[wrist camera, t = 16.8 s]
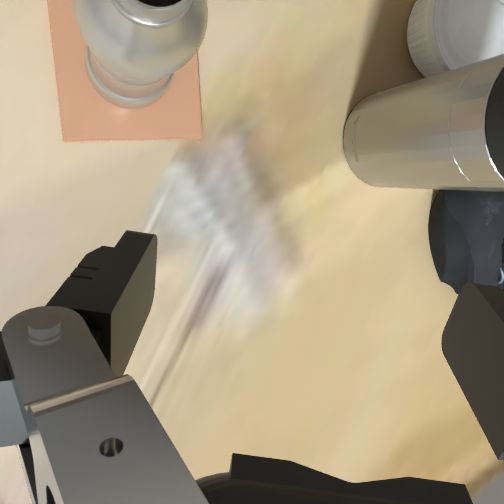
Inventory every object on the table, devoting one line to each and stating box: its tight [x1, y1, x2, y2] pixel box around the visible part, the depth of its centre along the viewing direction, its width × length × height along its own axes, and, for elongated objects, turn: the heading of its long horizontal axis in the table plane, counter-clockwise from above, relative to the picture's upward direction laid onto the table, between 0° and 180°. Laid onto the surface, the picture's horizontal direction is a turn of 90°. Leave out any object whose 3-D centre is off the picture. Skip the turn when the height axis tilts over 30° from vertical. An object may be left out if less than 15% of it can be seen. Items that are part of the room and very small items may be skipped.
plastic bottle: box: [73, 0, 208, 109], centre depth 26 cm, size 6×7×20 cm
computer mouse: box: [428, 189, 504, 294], centre depth 50 cm, size 9×32×6 cm, turn 27°
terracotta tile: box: [47, 0, 202, 142], centre depth 36 cm, size 11×11×1 cm
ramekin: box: [407, 0, 504, 77], centre depth 43 cm, size 11×11×5 cm
